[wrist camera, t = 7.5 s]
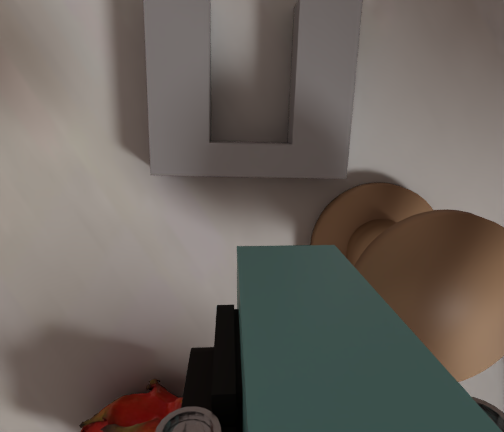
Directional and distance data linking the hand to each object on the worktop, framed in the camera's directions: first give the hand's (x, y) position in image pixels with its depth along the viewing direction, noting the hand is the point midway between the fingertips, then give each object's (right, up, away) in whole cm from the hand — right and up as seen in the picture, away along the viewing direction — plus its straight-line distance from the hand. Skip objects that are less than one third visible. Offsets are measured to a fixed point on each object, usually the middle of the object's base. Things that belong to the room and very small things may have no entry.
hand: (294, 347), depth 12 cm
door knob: (+7, +2, +15) cm, 16 cm away
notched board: (-1, +12, +12) cm, 17 cm away
